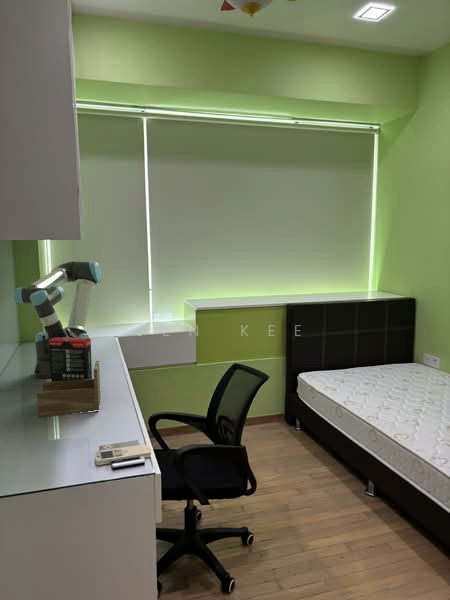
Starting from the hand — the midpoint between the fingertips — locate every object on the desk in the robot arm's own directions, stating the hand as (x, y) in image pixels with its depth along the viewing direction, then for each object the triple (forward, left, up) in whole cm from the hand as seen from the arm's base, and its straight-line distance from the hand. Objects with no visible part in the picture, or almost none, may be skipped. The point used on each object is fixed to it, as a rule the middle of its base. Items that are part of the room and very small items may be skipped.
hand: (70, 362), depth 204 cm
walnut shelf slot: (+27, +2, -13) cm, 30 cm away
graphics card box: (+13, +2, -13) cm, 19 cm away
